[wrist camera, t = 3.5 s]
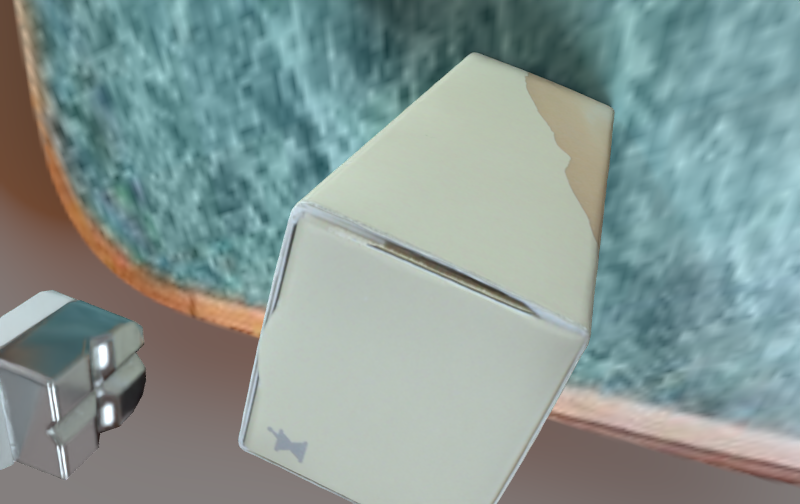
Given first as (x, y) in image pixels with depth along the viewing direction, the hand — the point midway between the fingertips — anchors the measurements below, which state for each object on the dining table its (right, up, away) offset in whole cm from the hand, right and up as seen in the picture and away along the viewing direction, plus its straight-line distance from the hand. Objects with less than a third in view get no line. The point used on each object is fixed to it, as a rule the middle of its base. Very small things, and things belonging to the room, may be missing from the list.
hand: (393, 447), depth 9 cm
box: (+3, +6, +10) cm, 12 cm away
